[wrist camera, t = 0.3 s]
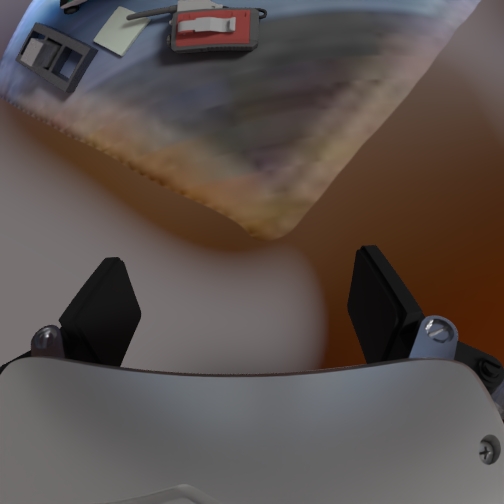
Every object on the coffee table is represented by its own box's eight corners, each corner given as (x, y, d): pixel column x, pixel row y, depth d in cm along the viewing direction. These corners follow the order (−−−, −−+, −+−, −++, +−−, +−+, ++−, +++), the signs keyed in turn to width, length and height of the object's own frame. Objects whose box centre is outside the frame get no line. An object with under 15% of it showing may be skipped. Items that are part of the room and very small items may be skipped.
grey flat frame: (23, 60, 25) (15, 60, 23) (43, 23, 22) (35, 22, 20) (73, 92, 31) (65, 92, 29) (98, 50, 28) (90, 48, 26)
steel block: (56, 41, 25) (31, 38, 19) (68, 47, 26) (43, 43, 20) (45, 61, 27) (20, 59, 21) (56, 67, 28) (31, 66, 22)
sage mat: (120, 6, 24) (119, 5, 24) (150, 20, 26) (149, 19, 26) (94, 41, 27) (93, 40, 26) (123, 56, 29) (121, 55, 28)
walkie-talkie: (266, 2, 25) (130, 14, 25) (269, -9, 22) (118, 7, 21) (265, 53, 30) (126, 63, 29) (268, 46, 26) (114, 59, 25)
